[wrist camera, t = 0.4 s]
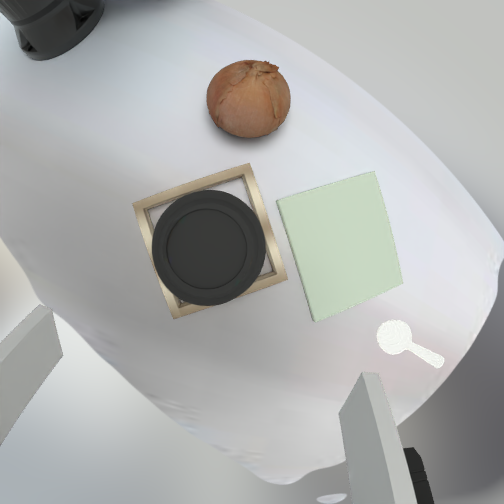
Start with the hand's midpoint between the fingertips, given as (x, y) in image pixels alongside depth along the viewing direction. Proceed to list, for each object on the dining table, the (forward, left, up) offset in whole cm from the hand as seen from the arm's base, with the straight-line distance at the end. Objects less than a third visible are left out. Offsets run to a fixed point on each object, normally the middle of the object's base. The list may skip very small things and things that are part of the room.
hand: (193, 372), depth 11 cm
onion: (-18, +11, -26) cm, 33 cm away
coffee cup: (-4, +2, -26) cm, 26 cm away
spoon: (+22, +26, -26) cm, 43 cm away
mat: (+2, +18, -25) cm, 31 cm away
